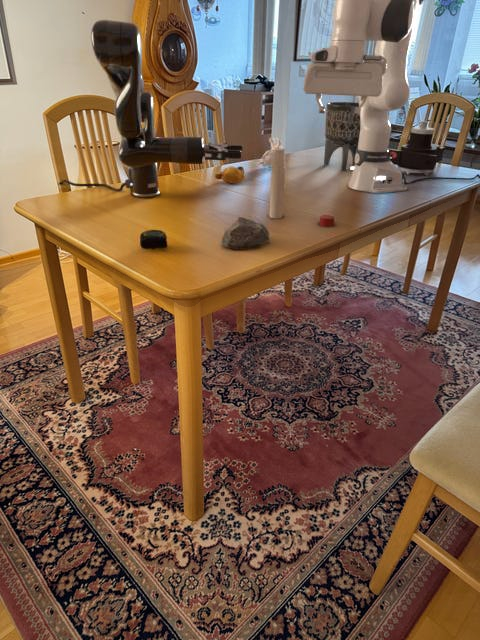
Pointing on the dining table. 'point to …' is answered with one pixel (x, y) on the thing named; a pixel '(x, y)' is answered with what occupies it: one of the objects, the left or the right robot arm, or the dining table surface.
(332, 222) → the cap
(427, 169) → the mechanical component
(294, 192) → the dining table surface
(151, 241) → the tape measure
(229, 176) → the toy
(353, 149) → the planter
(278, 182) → the bottle
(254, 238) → the rock
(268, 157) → the figurine
